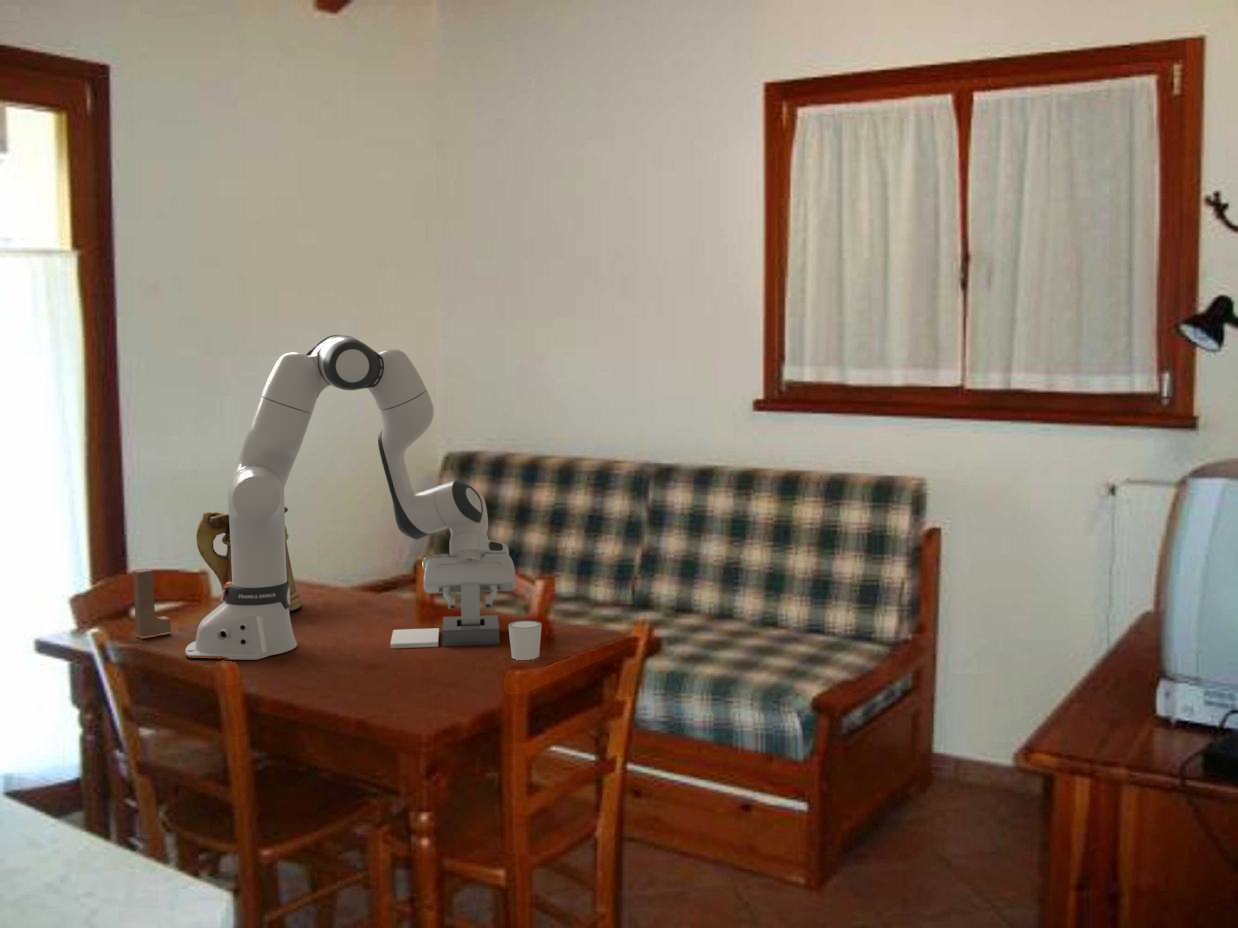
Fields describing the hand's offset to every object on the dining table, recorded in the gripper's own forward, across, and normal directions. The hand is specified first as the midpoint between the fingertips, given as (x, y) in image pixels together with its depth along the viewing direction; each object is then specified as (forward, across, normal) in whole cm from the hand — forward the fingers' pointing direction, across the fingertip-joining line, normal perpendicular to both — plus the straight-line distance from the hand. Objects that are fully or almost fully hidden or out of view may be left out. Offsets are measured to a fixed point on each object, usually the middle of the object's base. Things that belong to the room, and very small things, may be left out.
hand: (470, 606), depth 267 cm
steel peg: (+5, 0, +6) cm, 7 cm away
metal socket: (+5, 0, +6) cm, 7 cm away
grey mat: (+5, -12, +6) cm, 14 cm away
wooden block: (-4, -70, +14) cm, 71 cm away
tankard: (-18, -52, +29) cm, 62 cm away
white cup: (+17, +11, -6) cm, 21 cm away
